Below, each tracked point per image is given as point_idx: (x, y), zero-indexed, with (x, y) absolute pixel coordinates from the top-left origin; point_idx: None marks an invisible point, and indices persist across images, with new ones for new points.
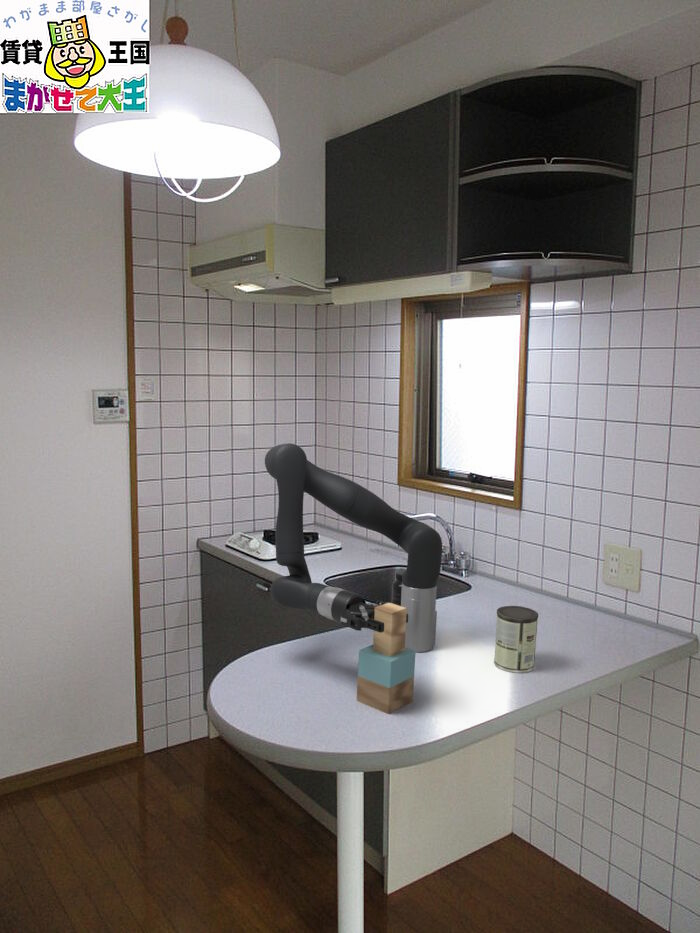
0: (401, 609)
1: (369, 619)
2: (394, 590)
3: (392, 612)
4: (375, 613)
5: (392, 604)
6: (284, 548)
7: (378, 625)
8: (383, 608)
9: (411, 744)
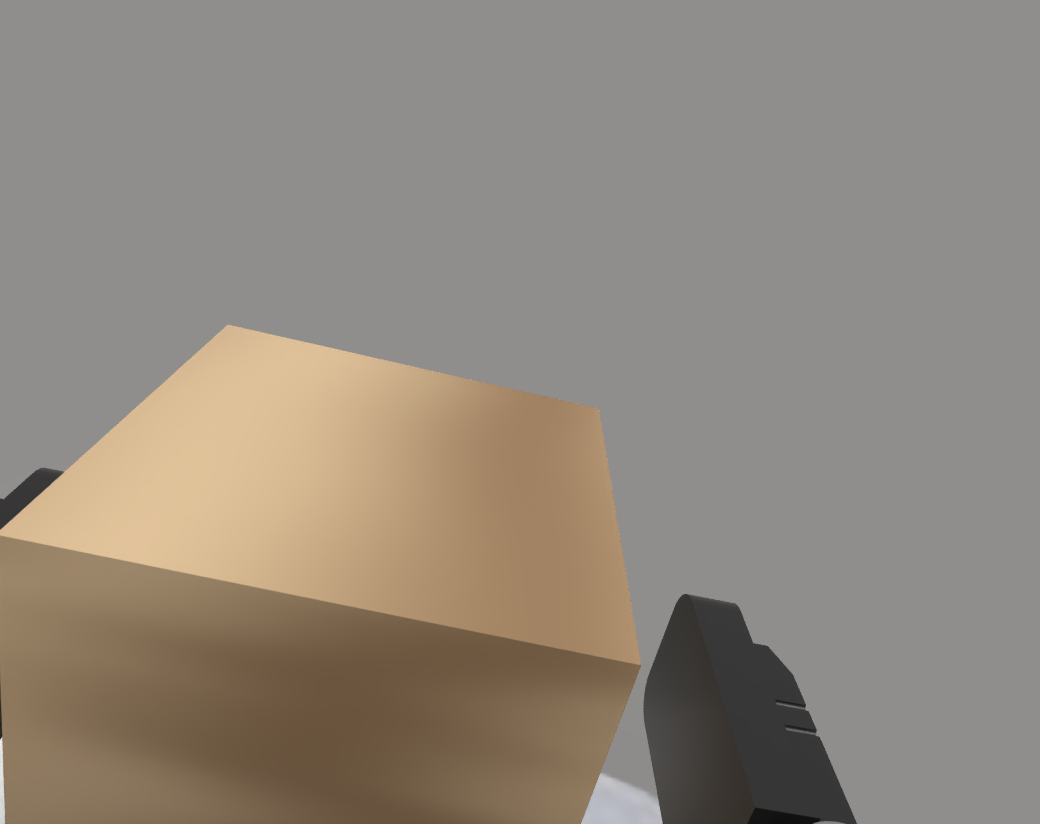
0: (349, 356)
1: (813, 819)
2: None
3: (571, 411)
4: (592, 759)
5: (137, 465)
6: None
7: (767, 654)
8: (528, 525)
9: (644, 803)
